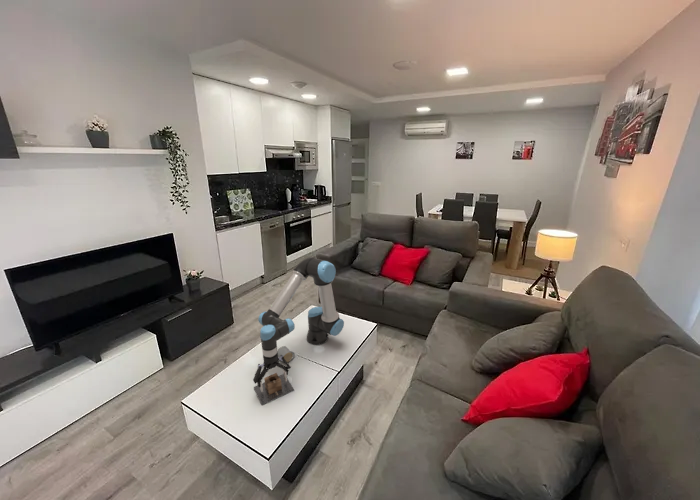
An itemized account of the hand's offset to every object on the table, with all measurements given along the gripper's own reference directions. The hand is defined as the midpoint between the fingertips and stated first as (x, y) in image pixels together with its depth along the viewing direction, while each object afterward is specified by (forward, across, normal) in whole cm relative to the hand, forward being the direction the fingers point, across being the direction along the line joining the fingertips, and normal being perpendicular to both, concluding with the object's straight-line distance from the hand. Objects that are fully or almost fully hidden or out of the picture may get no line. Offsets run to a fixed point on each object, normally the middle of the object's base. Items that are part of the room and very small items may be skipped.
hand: (273, 385), depth 159 cm
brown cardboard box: (+2, 0, 0) cm, 2 cm away
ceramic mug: (+3, -16, -20) cm, 26 cm away
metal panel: (+3, 0, 0) cm, 3 cm away
